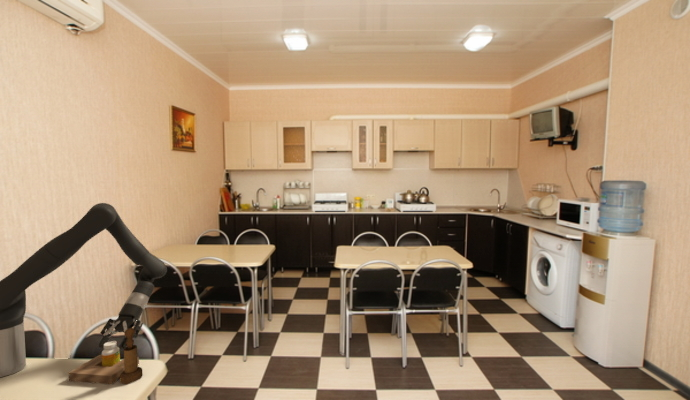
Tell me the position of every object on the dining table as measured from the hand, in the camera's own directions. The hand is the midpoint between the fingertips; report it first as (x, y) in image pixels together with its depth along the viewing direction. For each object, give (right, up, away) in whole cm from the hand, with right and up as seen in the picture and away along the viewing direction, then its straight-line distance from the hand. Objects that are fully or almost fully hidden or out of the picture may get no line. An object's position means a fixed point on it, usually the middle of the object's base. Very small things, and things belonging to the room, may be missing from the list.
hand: (111, 348), depth 117 cm
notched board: (0, -8, -2) cm, 8 cm away
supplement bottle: (0, -8, 0) cm, 8 cm away
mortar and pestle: (+12, -8, -6) cm, 16 cm away
